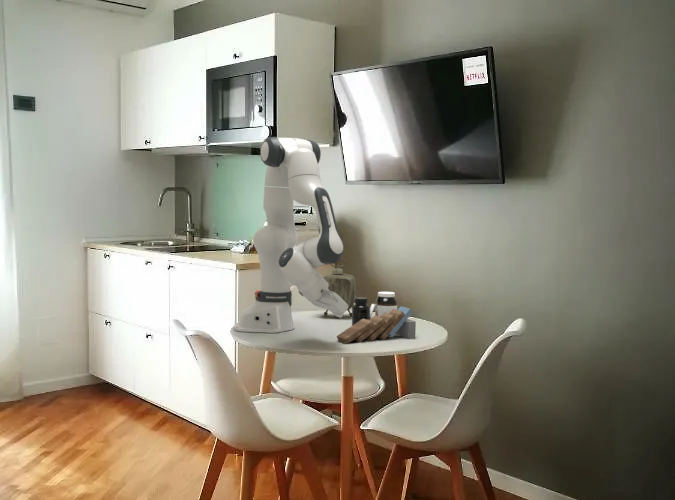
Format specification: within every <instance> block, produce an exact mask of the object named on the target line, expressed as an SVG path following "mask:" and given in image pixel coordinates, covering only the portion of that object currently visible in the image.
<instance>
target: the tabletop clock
mask: <svg viewBox="0 0 675 500" xmlns="http://www.w3.org/2000/svg"><path fill="white" fill-rule="evenodd" d="M340 260H343V261H344V263H345V264H342V265H340V264H339V263H336V265H335V264H330V265H331V266H332V267H334V269H333V270H332V271H331V273H328V274H326V275H324V276H322V277H323V278H324V279H325V280H326V281H327V282H328V284H329V286H328V289H329V291H332V292H335V293H336V294H337V295H338V296H340V297H341V298H342V299H343V300H344V301H345V302H346V304H347V305H348V309H347V310H346V311H348V316H349V317H351V318H352V311H350V309H351V310H352V307H353V305H355V298H357V282H356V277H355V276H354V275H352V274H349V273H348V274H347V273H345V271H344V269H343V268H344V267H346V265H347V263H348V262H347V260H346V258H343V257H342V258H341V259H340ZM328 311H329V310H327V309H325V311H324V312H323V315H324V316H328V314H329V313H328ZM334 317H335V319H339V317H337V316H335V315H334Z"/></svg>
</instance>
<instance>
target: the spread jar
mask: <svg viewBox="0 0 675 500" xmlns="http://www.w3.org/2000/svg"><path fill="white" fill-rule="evenodd" d="M395 295H396V293H395V292H393V291H378V292H377V297H376V299H375V302H374V303H371V305H370V306H369V307H370V319H371V318H372V317H373V316H372V315H373V313H374V316H378V317H380V316H381V315H382V314H383V313H384V312H385V313H388V314H389V313H390V312H391V311H392V309H395V310H398V302H397V299H396V297H395Z"/></svg>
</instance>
